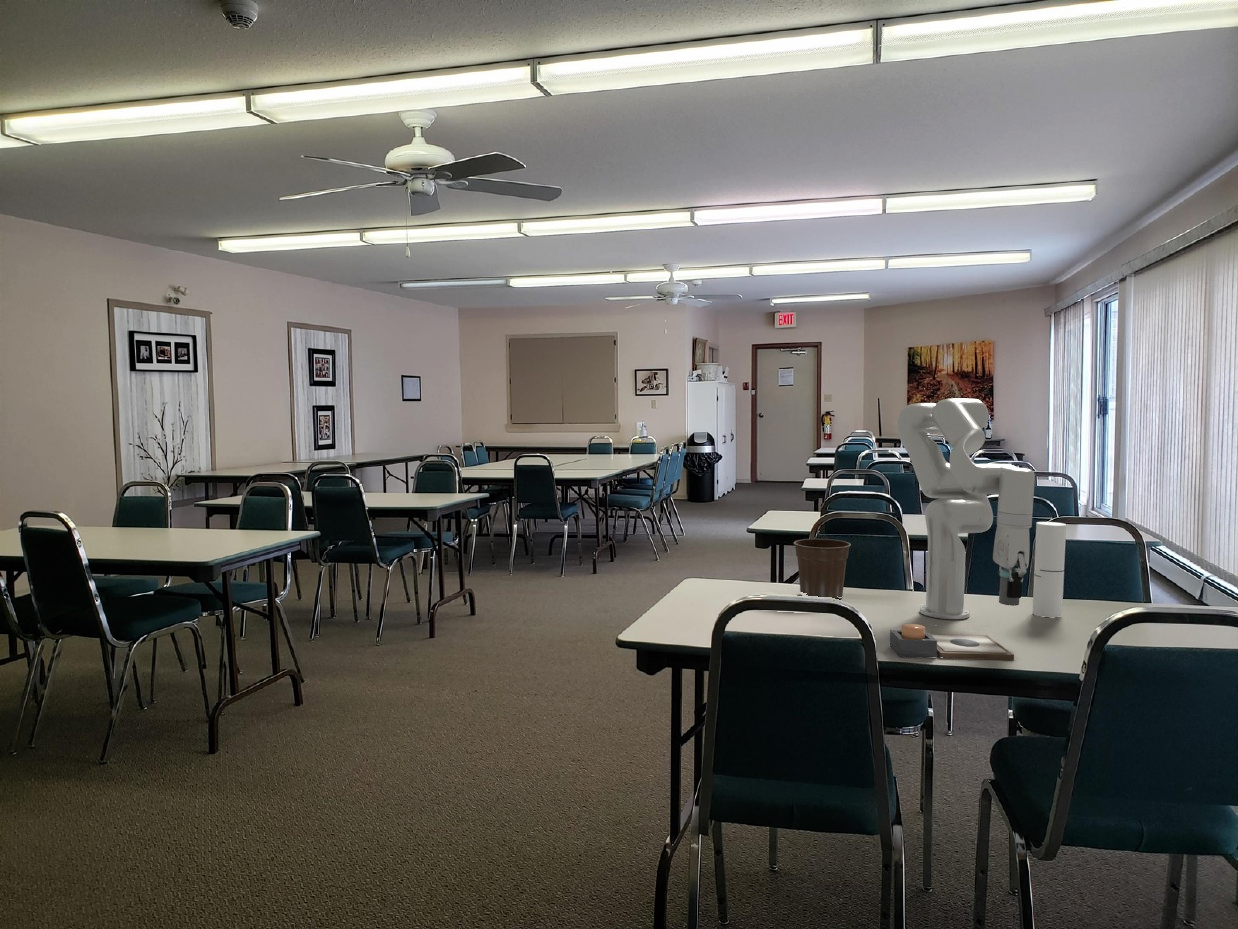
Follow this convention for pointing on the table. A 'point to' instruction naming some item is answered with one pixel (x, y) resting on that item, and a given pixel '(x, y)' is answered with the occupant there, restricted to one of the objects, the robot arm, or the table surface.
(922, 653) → the button housing
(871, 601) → the table surface
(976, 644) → the board
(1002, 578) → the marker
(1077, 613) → the table surface
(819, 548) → the plant pot
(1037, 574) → the cylindrical container
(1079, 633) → the table surface
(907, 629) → the button
